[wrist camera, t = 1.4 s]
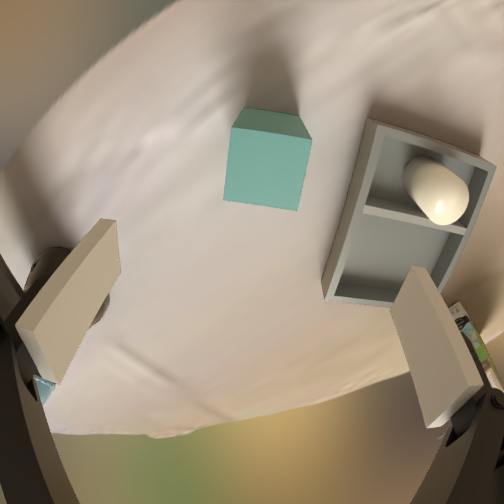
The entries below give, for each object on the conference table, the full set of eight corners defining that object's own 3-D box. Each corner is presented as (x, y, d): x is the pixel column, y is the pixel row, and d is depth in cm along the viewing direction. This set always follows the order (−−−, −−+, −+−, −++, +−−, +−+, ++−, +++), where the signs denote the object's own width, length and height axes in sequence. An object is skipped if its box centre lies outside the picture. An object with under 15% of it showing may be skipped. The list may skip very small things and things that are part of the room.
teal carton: (237, 158, 36) (223, 200, 26) (244, 107, 32) (231, 127, 22) (289, 166, 36) (297, 211, 26) (299, 116, 33) (312, 139, 22)
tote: (321, 281, 44) (324, 300, 41) (366, 117, 32) (377, 124, 28) (421, 294, 45) (430, 311, 41) (479, 156, 32) (496, 166, 29)
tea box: (412, 331, 49) (436, 401, 37) (458, 298, 45) (494, 365, 33) (441, 362, 54) (461, 421, 42) (480, 335, 50) (507, 393, 38)
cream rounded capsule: (396, 193, 35) (417, 219, 30) (409, 150, 32) (435, 169, 26) (432, 202, 36) (457, 229, 30) (446, 162, 32) (475, 183, 27)
